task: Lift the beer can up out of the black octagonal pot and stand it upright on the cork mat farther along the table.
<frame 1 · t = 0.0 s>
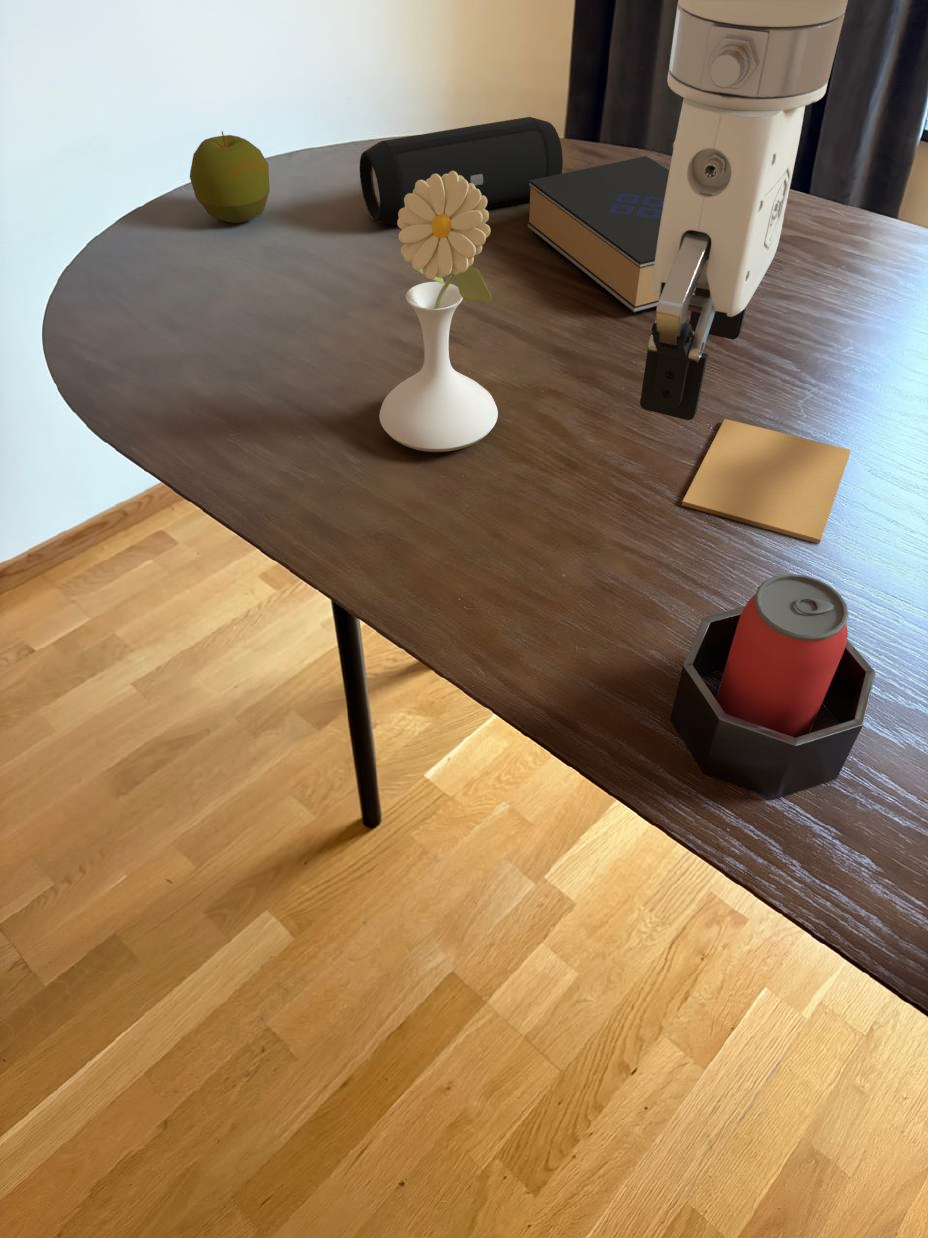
hand: (691, 370, 57), 22 cm above the table, tool pointing down, fingers open, 9 cm apart
flower in vase: (444, 433, 91), on the table
book: (636, 259, 116), on the table
beer can: (758, 725, 66), resting in black octagonal pot
portable speaker: (462, 210, 126), on the table
black octagonal pot: (759, 723, 66), on the table
apple: (238, 219, 125), on the table
cork mat: (767, 478, 85), on the table
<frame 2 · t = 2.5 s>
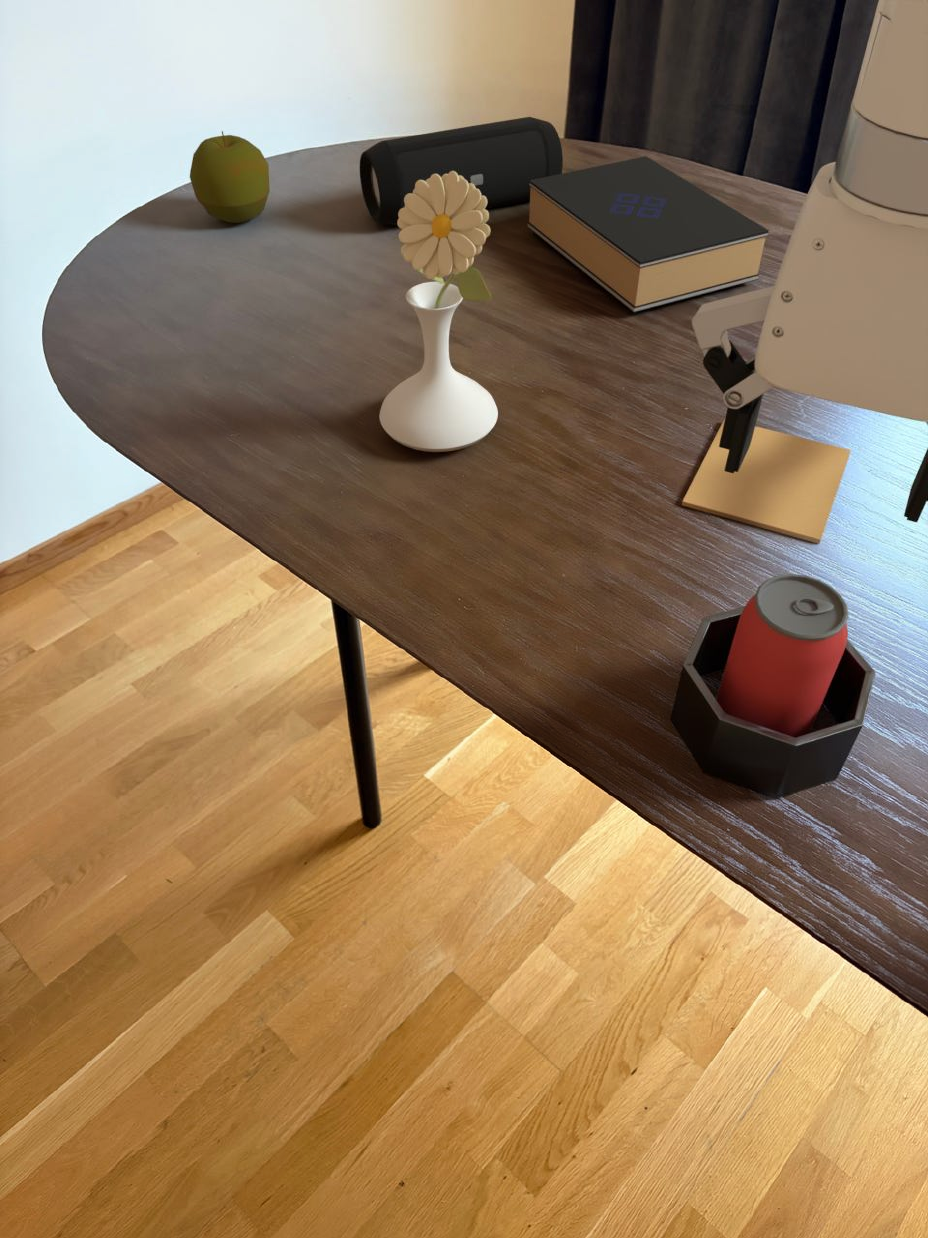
hand: (822, 482, 52), 21 cm above the table, tool pointing down, fingers open, 9 cm apart
nothing on the table moved.
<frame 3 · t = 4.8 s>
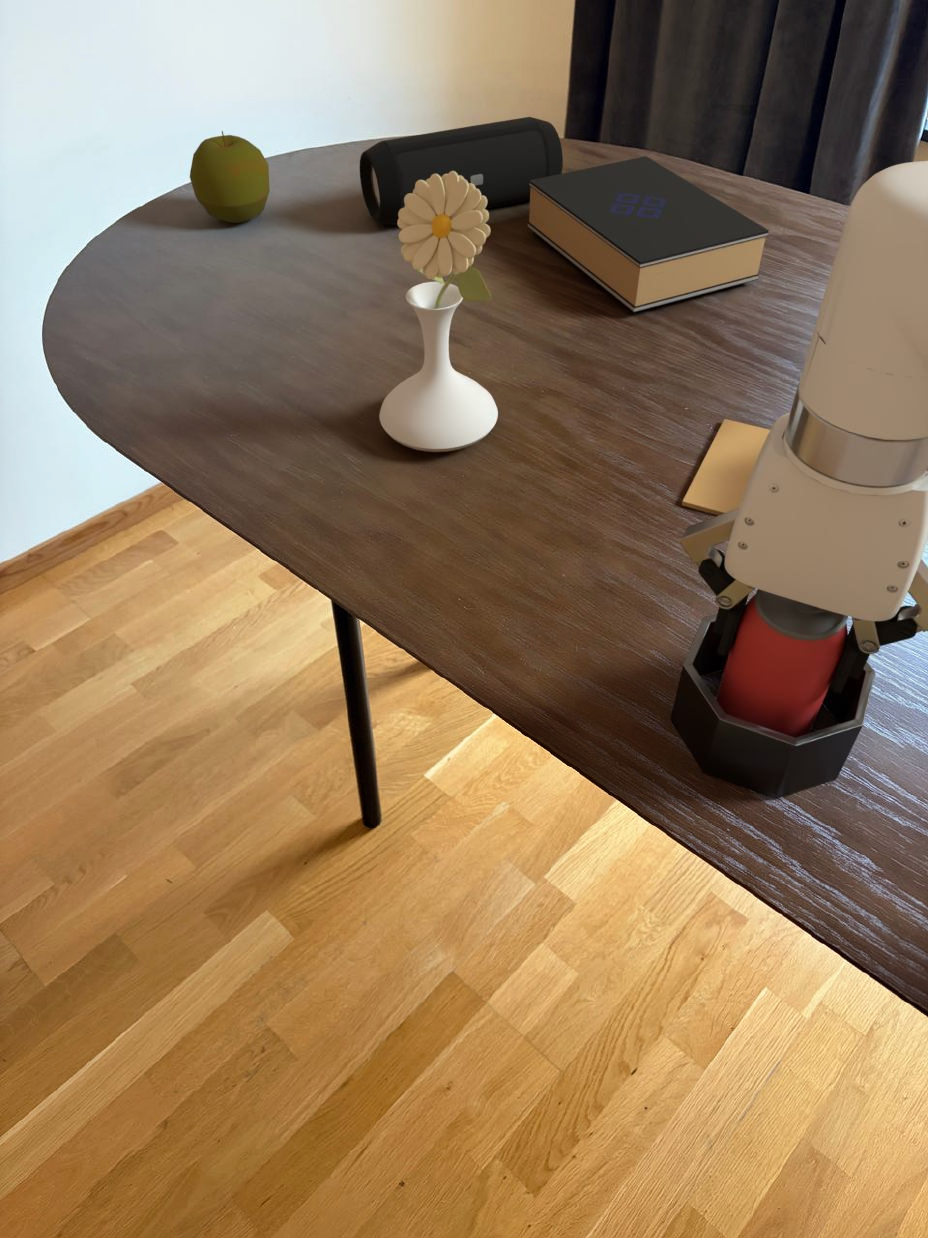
hand: (782, 657, 61), 7 cm above the table, tool pointing down, fingers closed on beer can, 6 cm apart
beer can: (758, 725, 66), resting in black octagonal pot, touching gripper
everything else where it was.
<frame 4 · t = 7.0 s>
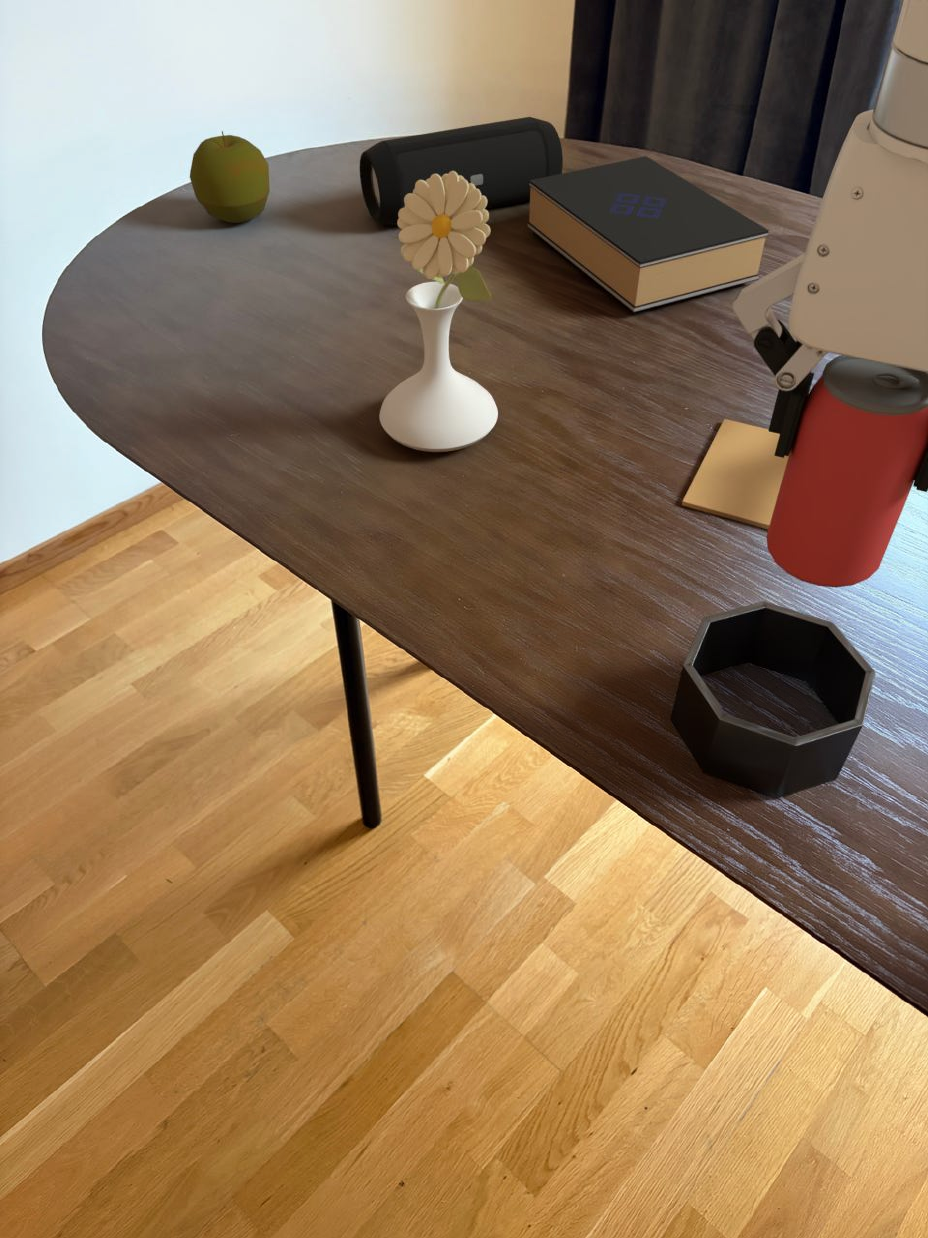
hand: (853, 457, 51), 22 cm above the table, tool pointing down, fingers closed on beer can, 6 cm apart
beer can: (819, 557, 56), point 15 cm above the table, touching gripper
everything else where it was.
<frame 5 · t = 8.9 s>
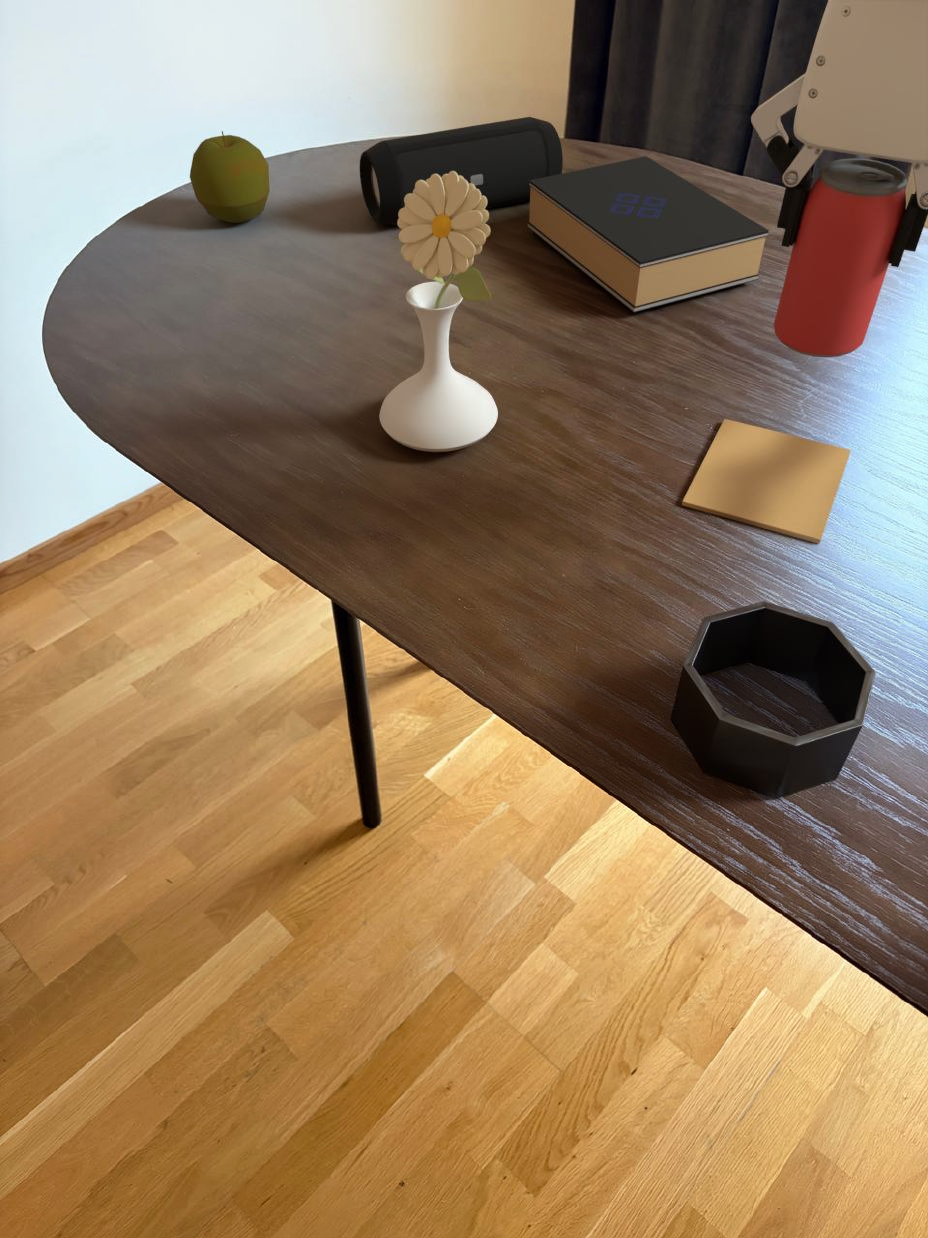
hand: (842, 246, 65), 23 cm above the table, tool pointing down, fingers closed on beer can, 6 cm apart
beer can: (815, 341, 71), point 16 cm above the table, touching gripper
everything else where it was.
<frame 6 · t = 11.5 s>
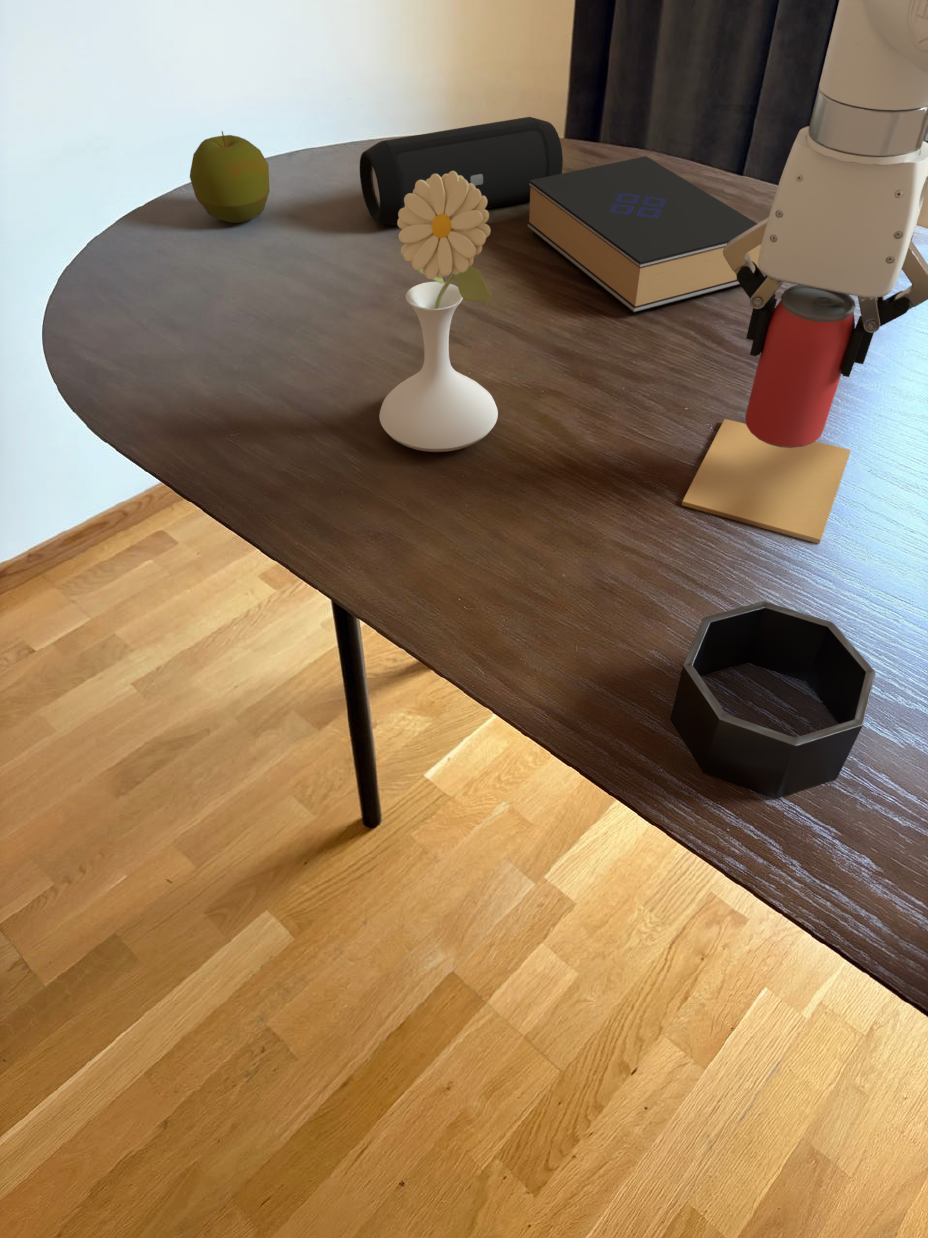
hand: (802, 356, 76), 12 cm above the table, tool pointing down, fingers closed on beer can, 6 cm apart
beer can: (781, 431, 81), point 5 cm above the table, touching gripper
everything else where it was.
when the fingers open (8 cm above the table, at t = 13.3 s): beer can stays where it is, resting on cork mat.
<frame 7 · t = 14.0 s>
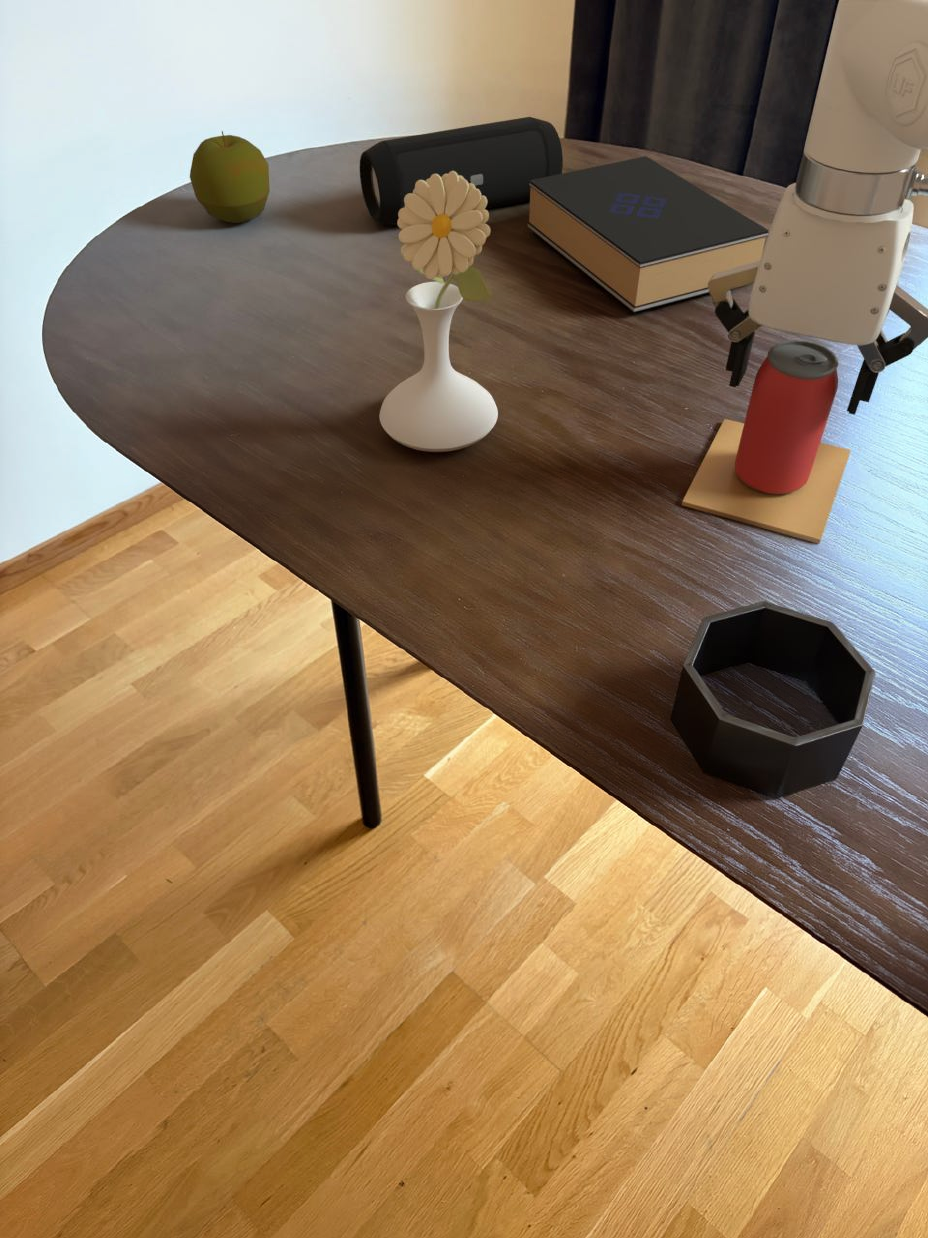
hand: (794, 392, 78), 9 cm above the table, tool pointing down, fingers open, 9 cm apart
beer can: (769, 477, 85), resting on cork mat
everything else where it was.
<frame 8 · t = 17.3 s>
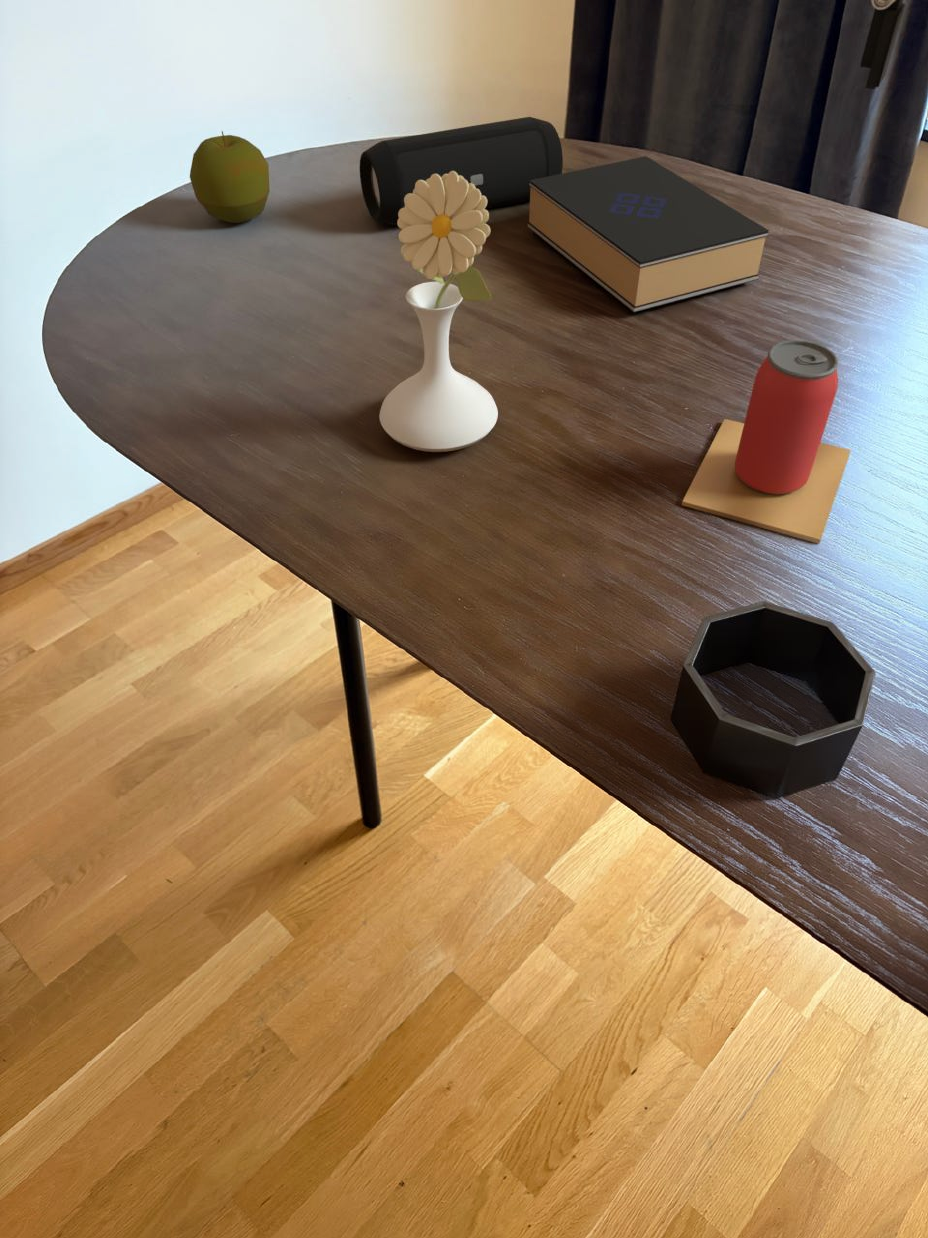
nothing on the table moved.
at the end: beer can inside the target area on the cork mat (0.1 cm from its centre), point 0.3 cm above the cork mat's base; beer can tilted 0° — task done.
